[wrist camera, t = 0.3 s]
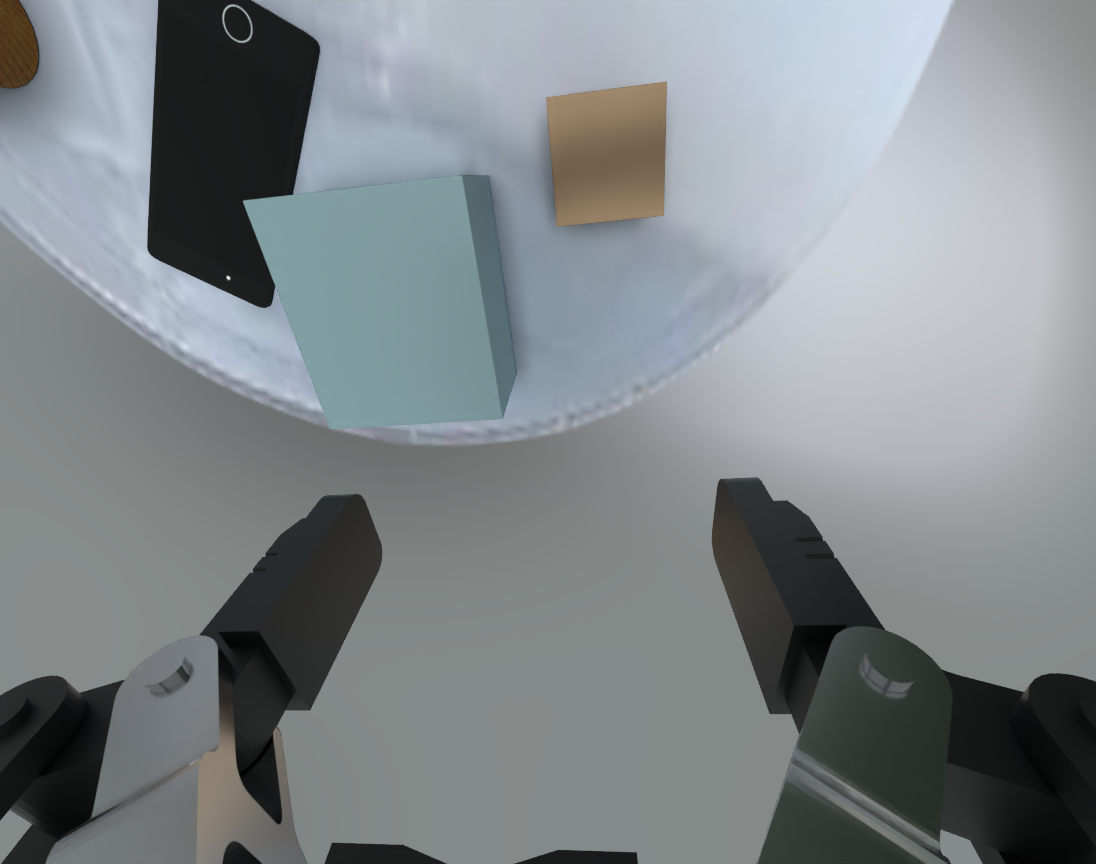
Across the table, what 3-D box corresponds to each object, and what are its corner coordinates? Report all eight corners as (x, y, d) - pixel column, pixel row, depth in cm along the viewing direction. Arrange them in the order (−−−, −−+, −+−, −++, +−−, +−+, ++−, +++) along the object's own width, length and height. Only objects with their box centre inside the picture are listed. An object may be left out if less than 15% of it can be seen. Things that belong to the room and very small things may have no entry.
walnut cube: (552, 112, 28) (546, 97, 23) (649, 99, 27) (666, 81, 22) (560, 218, 31) (556, 226, 26) (648, 208, 30) (663, 215, 25)
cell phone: (325, 44, 27) (317, 39, 26) (273, 308, 35) (266, 311, 35) (173, -46, 26) (159, -54, 25) (156, 253, 34) (145, 255, 33)
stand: (317, 195, 31) (242, 200, 24) (488, 175, 30) (461, 174, 23) (375, 383, 38) (330, 429, 31) (516, 372, 37) (502, 418, 30)
